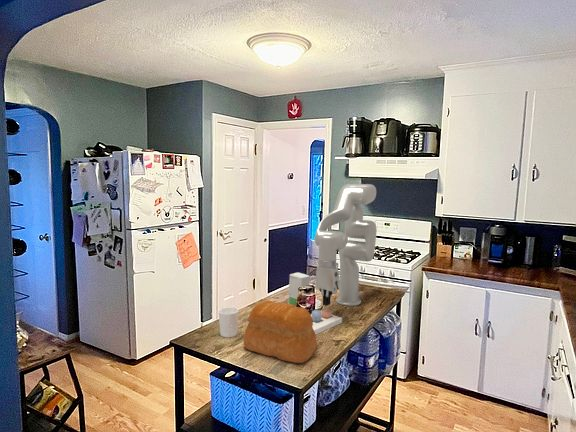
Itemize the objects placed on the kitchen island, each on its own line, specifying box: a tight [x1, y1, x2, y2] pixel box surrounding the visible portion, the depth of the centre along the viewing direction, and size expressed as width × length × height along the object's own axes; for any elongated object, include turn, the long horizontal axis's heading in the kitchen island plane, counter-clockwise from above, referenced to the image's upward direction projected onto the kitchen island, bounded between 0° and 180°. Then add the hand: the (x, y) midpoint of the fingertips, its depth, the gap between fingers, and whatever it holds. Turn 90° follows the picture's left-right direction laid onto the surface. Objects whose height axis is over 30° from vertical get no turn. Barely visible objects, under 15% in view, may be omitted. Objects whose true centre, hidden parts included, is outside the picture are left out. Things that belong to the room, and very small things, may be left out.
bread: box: [243, 300, 318, 364], centre depth 144 cm, size 16×26×17 cm, turn 61°
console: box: [310, 310, 343, 335], centre depth 164 cm, size 20×12×4 cm, turn 136°
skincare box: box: [287, 271, 311, 306], centre depth 190 cm, size 8×7×16 cm
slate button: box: [311, 309, 322, 323], centre depth 163 cm, size 4×4×4 cm
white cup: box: [218, 306, 239, 338], centre depth 157 cm, size 8×8×10 cm
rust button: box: [321, 309, 332, 319], centre depth 168 cm, size 4×4×4 cm
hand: (326, 304), depth 168 cm, fingers closed
